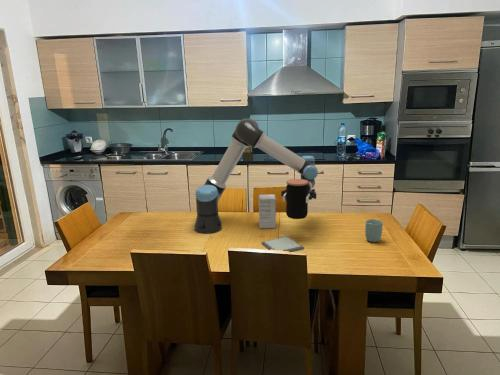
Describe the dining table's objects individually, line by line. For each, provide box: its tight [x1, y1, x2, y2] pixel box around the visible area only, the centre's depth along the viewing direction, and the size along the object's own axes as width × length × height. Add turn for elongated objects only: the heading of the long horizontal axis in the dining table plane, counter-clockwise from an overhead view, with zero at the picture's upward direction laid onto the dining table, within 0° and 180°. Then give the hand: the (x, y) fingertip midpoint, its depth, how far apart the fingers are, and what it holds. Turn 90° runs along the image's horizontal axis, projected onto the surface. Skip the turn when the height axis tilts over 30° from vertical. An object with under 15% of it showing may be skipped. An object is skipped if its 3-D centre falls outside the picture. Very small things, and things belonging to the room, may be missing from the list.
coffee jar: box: [285, 178, 309, 220], centre depth 183 cm, size 11×11×18 cm
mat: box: [261, 236, 305, 253], centre depth 178 cm, size 15×15×1 cm
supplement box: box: [258, 194, 277, 229], centre depth 205 cm, size 10×9×17 cm
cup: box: [364, 218, 384, 243], centre depth 181 cm, size 8×8×10 cm
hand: (295, 199), depth 179 cm, fingers closed on coffee jar, 11 cm apart
